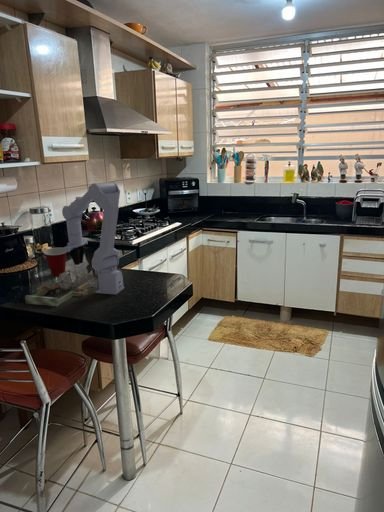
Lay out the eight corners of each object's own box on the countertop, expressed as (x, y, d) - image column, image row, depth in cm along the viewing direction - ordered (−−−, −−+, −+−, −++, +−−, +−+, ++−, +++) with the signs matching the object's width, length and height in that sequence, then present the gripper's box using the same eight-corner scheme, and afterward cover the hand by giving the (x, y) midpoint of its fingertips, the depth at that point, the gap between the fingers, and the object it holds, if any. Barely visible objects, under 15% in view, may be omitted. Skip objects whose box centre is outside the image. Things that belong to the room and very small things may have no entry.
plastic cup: (51, 279, 171) (48, 254, 168) (43, 274, 179) (39, 250, 176) (74, 274, 178) (71, 249, 175) (65, 269, 186) (61, 246, 183)
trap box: (97, 286, 159) (96, 280, 159) (66, 307, 139) (65, 299, 138) (53, 283, 166) (52, 277, 165) (17, 302, 146) (16, 295, 145)
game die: (69, 295, 161) (73, 273, 164) (79, 293, 155) (83, 270, 159) (49, 290, 155) (54, 268, 159) (59, 287, 149) (64, 264, 153)
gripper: (76, 229, 169) (80, 258, 172) (56, 236, 155) (60, 268, 159) (90, 230, 167) (93, 259, 170) (71, 237, 153) (75, 269, 157)
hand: (78, 263), depth 164 cm, fingers closed
